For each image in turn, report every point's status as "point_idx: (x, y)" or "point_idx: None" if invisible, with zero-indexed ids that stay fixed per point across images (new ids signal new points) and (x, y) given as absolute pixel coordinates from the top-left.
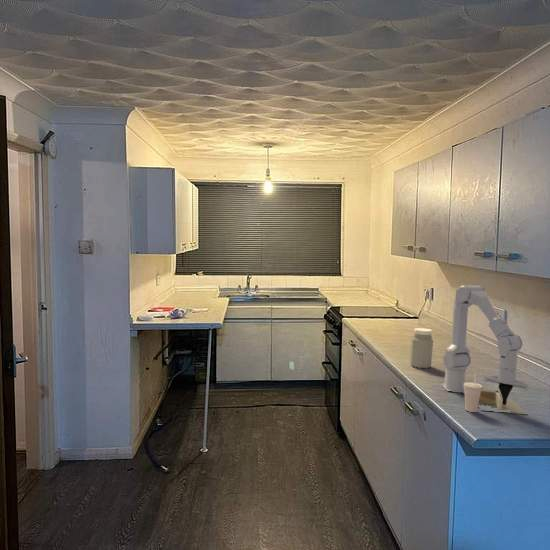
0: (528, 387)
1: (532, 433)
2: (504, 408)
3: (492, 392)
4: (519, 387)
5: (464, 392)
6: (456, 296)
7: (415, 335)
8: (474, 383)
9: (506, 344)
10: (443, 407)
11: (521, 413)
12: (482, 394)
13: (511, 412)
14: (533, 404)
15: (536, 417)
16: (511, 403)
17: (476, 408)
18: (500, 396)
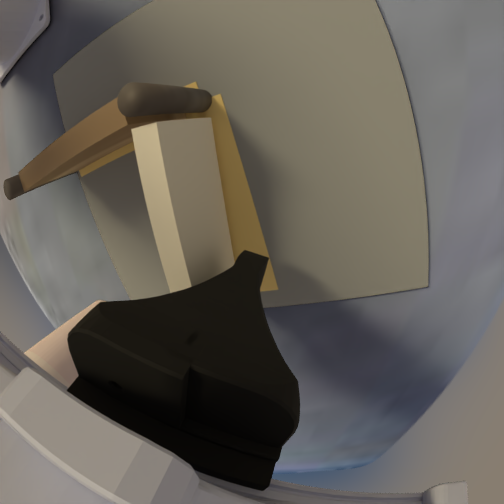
0: (462, 497)
1: (345, 453)
2: (267, 224)
3: (106, 137)
4: (350, 501)
5: (39, 33)
6: None
7: None
8: None
9: None
10: (45, 307)
11: (383, 290)
12: (69, 166)
13: (312, 296)
14: (497, 3)
15: (462, 304)
16: (339, 40)
17: None
18: (187, 274)
